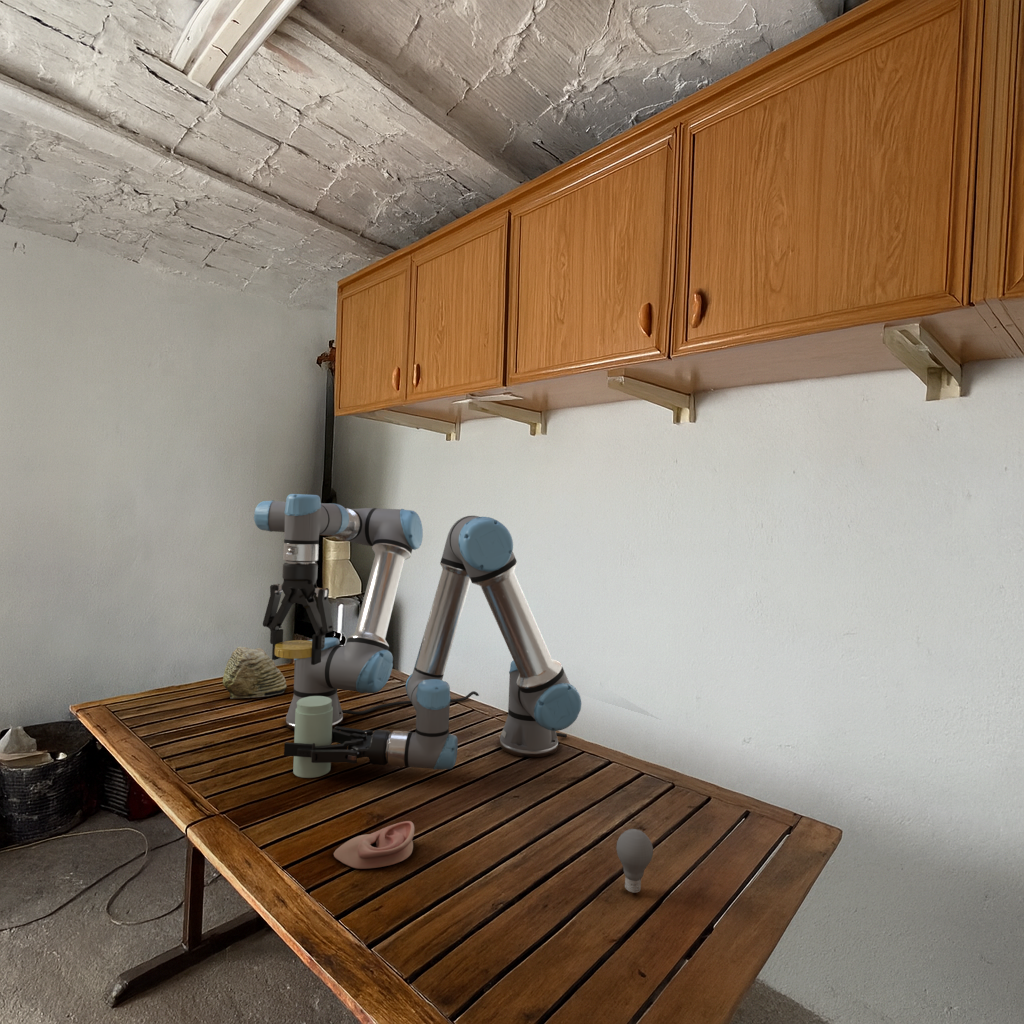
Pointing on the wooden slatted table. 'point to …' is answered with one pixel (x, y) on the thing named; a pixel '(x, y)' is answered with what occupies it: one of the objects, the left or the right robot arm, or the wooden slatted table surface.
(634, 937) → the wooden slatted table surface
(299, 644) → the lid
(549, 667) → the right robot arm
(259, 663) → the fossil
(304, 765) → the jar
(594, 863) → the wooden slatted table surface
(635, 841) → the light bulb
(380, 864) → the anatomical model
